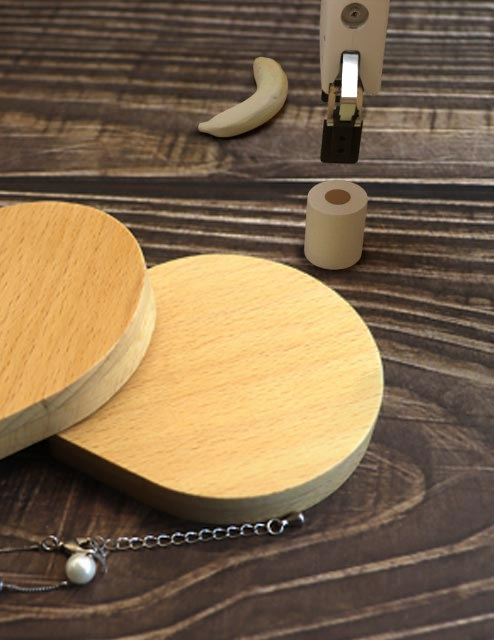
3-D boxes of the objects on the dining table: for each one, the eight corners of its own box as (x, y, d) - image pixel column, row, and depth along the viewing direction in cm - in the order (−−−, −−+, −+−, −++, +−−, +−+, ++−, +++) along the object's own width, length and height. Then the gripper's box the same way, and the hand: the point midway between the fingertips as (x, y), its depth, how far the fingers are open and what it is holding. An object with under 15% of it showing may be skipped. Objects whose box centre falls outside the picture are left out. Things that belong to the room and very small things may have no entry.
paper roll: (332, 227, 103) (337, 172, 99) (373, 252, 100) (380, 197, 95) (292, 250, 101) (295, 195, 96) (332, 277, 98) (337, 222, 93)
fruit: (309, 85, 123) (311, 60, 120) (252, 148, 114) (252, 122, 112) (256, 73, 126) (256, 48, 123) (196, 134, 117) (195, 108, 115)
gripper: (415, -9, 72) (384, 189, 85) (403, -106, 84) (378, 80, 96) (308, -10, 73) (293, 186, 86) (311, -105, 85) (298, 79, 97)
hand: (338, 130), depth 91 cm, fingers open, 9 cm apart
